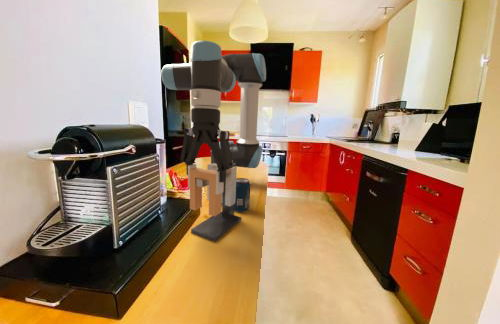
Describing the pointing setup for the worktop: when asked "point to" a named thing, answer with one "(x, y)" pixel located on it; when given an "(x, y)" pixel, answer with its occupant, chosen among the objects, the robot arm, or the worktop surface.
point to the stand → (216, 218)
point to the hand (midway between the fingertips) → (205, 189)
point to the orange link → (197, 191)
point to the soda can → (242, 195)
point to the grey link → (229, 186)
